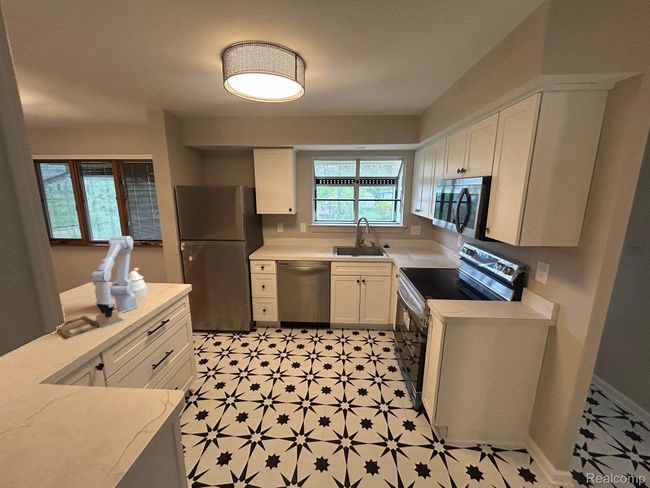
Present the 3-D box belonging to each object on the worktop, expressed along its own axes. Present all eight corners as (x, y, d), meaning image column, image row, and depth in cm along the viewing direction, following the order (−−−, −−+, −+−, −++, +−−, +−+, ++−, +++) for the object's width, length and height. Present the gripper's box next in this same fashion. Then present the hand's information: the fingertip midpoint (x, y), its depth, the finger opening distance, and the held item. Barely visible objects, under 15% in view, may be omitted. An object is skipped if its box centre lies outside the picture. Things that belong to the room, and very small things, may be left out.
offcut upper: (89, 325, 137) (88, 323, 137) (92, 327, 136) (92, 325, 136) (69, 333, 131) (68, 330, 130) (72, 335, 129) (71, 332, 129)
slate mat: (114, 315, 150) (113, 314, 150) (124, 320, 144) (124, 320, 144) (92, 322, 142) (91, 321, 142) (102, 328, 136) (101, 328, 136)
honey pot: (145, 289, 188) (142, 265, 184) (149, 294, 179) (145, 269, 175) (123, 293, 180) (119, 268, 176) (125, 299, 170) (121, 273, 167)
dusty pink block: (117, 317, 147) (115, 309, 146) (118, 318, 146) (117, 310, 145) (97, 324, 140) (95, 316, 139) (98, 325, 139) (97, 317, 138)
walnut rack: (85, 318, 146) (84, 315, 146) (100, 327, 137) (99, 325, 137) (52, 328, 135) (52, 325, 135) (67, 339, 126) (66, 336, 126)
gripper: (88, 292, 140) (92, 315, 143) (100, 298, 133) (104, 322, 136) (104, 288, 146) (108, 310, 149) (116, 293, 139) (120, 317, 142)
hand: (107, 316), depth 142 cm, fingers open, 3 cm apart
